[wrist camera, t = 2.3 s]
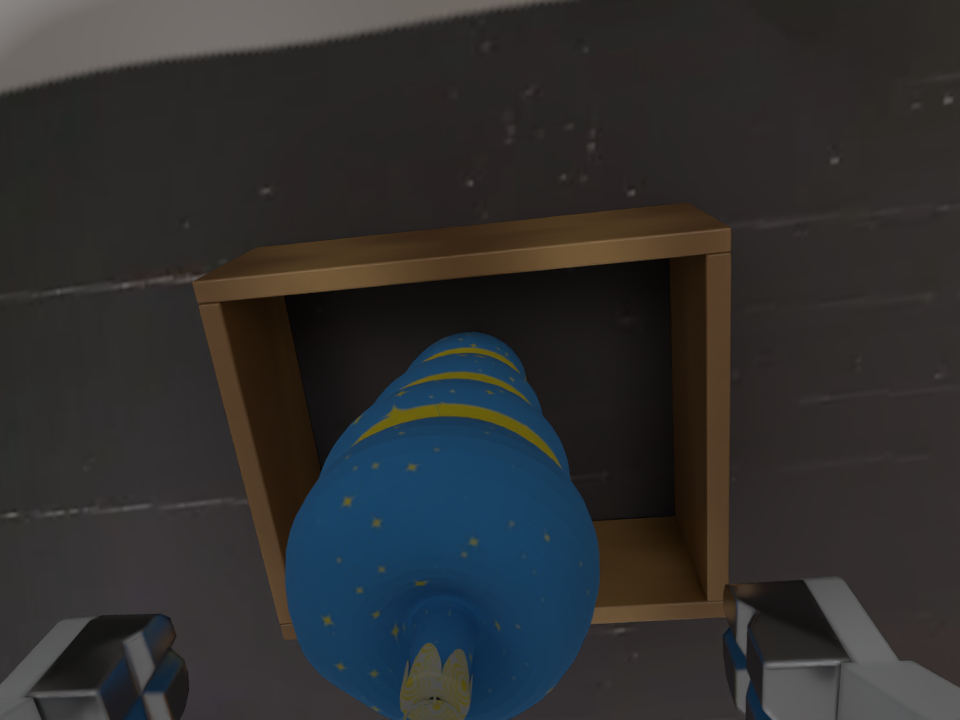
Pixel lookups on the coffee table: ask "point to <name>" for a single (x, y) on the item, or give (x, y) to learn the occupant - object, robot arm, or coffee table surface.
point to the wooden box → (482, 252)
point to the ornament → (445, 545)
